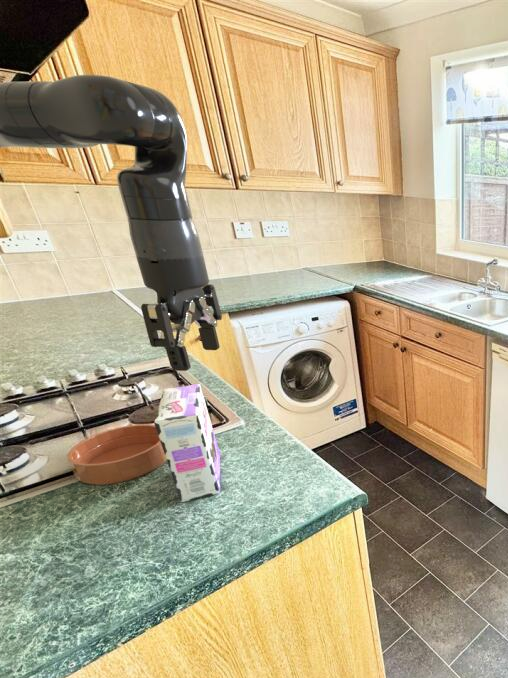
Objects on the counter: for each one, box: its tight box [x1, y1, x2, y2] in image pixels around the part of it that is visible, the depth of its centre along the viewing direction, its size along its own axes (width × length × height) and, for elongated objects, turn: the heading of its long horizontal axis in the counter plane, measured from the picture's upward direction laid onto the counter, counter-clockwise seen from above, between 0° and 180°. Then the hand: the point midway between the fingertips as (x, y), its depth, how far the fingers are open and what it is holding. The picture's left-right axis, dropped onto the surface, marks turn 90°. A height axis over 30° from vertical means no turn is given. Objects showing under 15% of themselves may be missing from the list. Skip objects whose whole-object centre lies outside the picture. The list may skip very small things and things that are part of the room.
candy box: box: [154, 383, 221, 503], centre depth 75 cm, size 14×6×16 cm, turn 32°
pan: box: [66, 423, 167, 486], centre depth 81 cm, size 14×14×4 cm
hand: (197, 359), depth 66 cm, fingers open, 8 cm apart
